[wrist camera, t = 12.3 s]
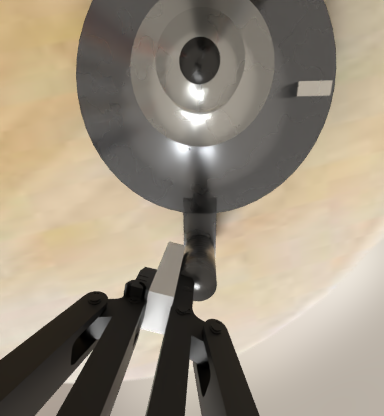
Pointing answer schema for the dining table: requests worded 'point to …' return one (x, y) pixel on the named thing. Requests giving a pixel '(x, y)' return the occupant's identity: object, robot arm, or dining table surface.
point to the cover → (202, 68)
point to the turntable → (212, 155)
